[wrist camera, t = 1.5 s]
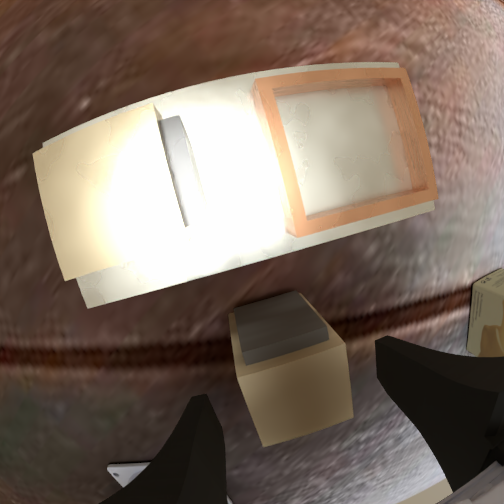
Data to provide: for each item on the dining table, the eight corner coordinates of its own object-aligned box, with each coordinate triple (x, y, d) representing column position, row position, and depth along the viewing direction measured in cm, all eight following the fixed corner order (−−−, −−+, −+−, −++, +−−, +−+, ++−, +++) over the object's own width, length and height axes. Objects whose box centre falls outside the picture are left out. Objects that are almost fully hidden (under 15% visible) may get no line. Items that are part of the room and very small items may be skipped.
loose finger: (247, 373, 16) (263, 446, 11) (224, 303, 16) (232, 364, 10) (313, 353, 17) (353, 417, 11) (298, 282, 16) (343, 329, 10)
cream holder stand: (426, 208, 16) (512, 220, 9) (93, 303, 15) (32, 365, 8) (391, 66, 14) (463, 25, 7) (49, 145, 13) (-31, 125, 6)
